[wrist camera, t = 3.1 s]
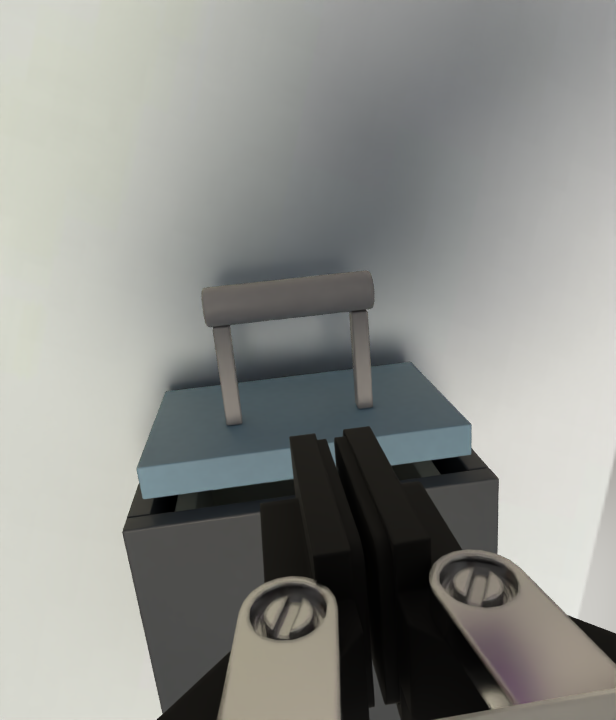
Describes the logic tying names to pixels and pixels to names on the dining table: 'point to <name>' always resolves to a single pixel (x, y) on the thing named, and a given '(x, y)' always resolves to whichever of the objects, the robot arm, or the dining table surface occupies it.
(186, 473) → the drawer
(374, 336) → the dining table surface
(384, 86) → the dining table surface
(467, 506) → the grey drawer cabinet
